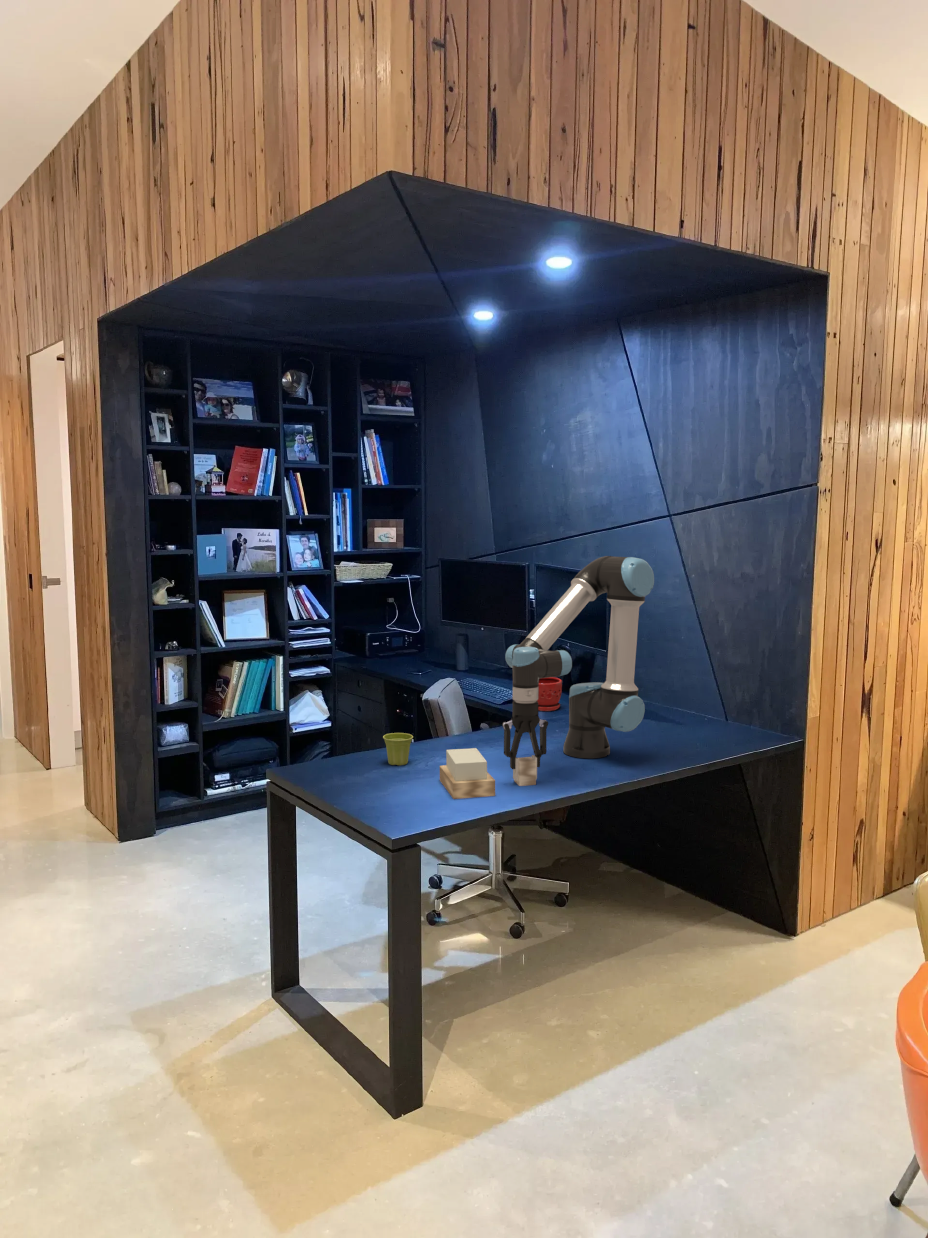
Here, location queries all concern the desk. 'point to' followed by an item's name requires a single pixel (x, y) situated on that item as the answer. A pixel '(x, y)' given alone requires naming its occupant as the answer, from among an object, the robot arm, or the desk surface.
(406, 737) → the plant pot
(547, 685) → the plant pot
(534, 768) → the ash block
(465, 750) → the middle block
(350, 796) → the desk surface
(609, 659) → the robot arm
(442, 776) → the bottom block
